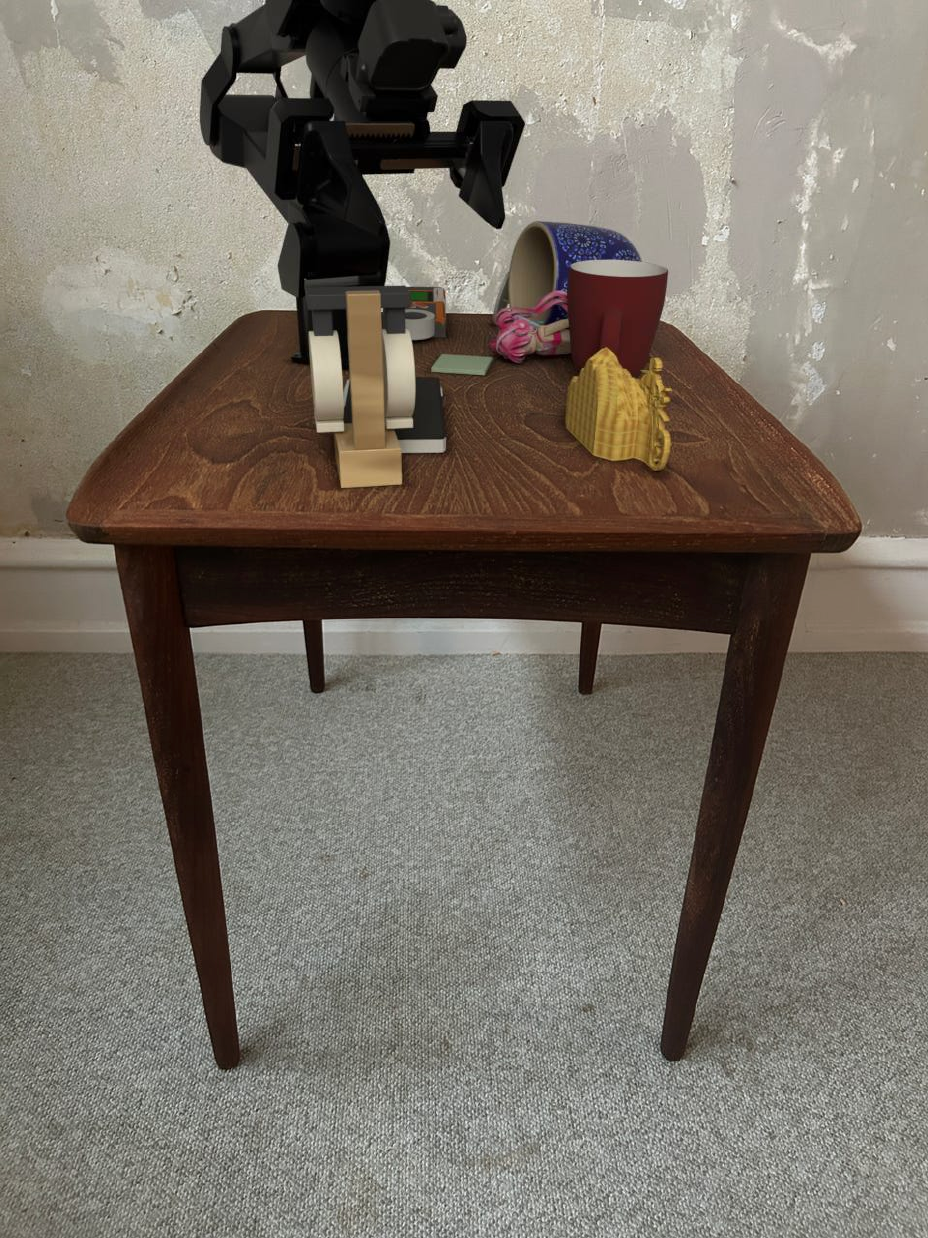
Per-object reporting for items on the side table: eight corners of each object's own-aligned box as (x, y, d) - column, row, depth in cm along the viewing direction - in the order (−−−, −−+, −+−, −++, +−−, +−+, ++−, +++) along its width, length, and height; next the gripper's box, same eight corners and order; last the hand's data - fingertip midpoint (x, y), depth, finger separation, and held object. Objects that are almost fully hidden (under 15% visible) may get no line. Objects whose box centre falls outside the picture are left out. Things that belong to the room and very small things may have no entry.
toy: (630, 381, 88) (488, 382, 84) (616, 336, 90) (477, 335, 86) (661, 330, 81) (509, 328, 77) (645, 283, 83) (496, 278, 79)
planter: (636, 357, 91) (540, 354, 87) (589, 316, 98) (499, 313, 94) (668, 248, 84) (566, 240, 80) (615, 214, 92) (520, 205, 88)
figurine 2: (604, 419, 69) (614, 327, 65) (669, 476, 59) (685, 371, 56) (560, 422, 68) (567, 329, 65) (618, 480, 58) (630, 374, 55)
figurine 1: (489, 334, 96) (558, 357, 95) (497, 288, 91) (569, 312, 90) (506, 306, 99) (572, 328, 98) (514, 261, 94) (584, 283, 93)
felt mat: (431, 371, 80) (431, 367, 80) (441, 357, 84) (441, 353, 84) (484, 375, 79) (485, 371, 79) (492, 361, 84) (492, 356, 83)
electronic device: (380, 318, 87) (386, 281, 100) (381, 347, 89) (387, 308, 101) (447, 319, 88) (445, 282, 100) (447, 348, 89) (445, 309, 102)
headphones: (313, 412, 61) (304, 282, 56) (404, 407, 62) (402, 280, 58) (318, 439, 56) (307, 300, 52) (416, 434, 57) (414, 297, 53)
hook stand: (334, 454, 62) (323, 275, 55) (390, 451, 62) (385, 274, 56) (341, 488, 57) (329, 294, 50) (402, 484, 57) (398, 293, 51)
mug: (663, 414, 71) (681, 284, 65) (563, 411, 71) (573, 281, 66) (646, 377, 80) (661, 260, 74) (558, 374, 80) (566, 258, 75)
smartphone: (333, 439, 61) (345, 376, 74) (334, 455, 62) (346, 390, 75) (448, 438, 62) (440, 376, 74) (448, 455, 62) (440, 390, 75)
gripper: (246, -44, 55) (331, 111, 49) (501, -24, 63) (600, 113, 57) (238, 125, 64) (309, 273, 58) (460, 125, 72) (542, 255, 66)
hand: (443, 226), depth 60 cm, fingers open, 9 cm apart
